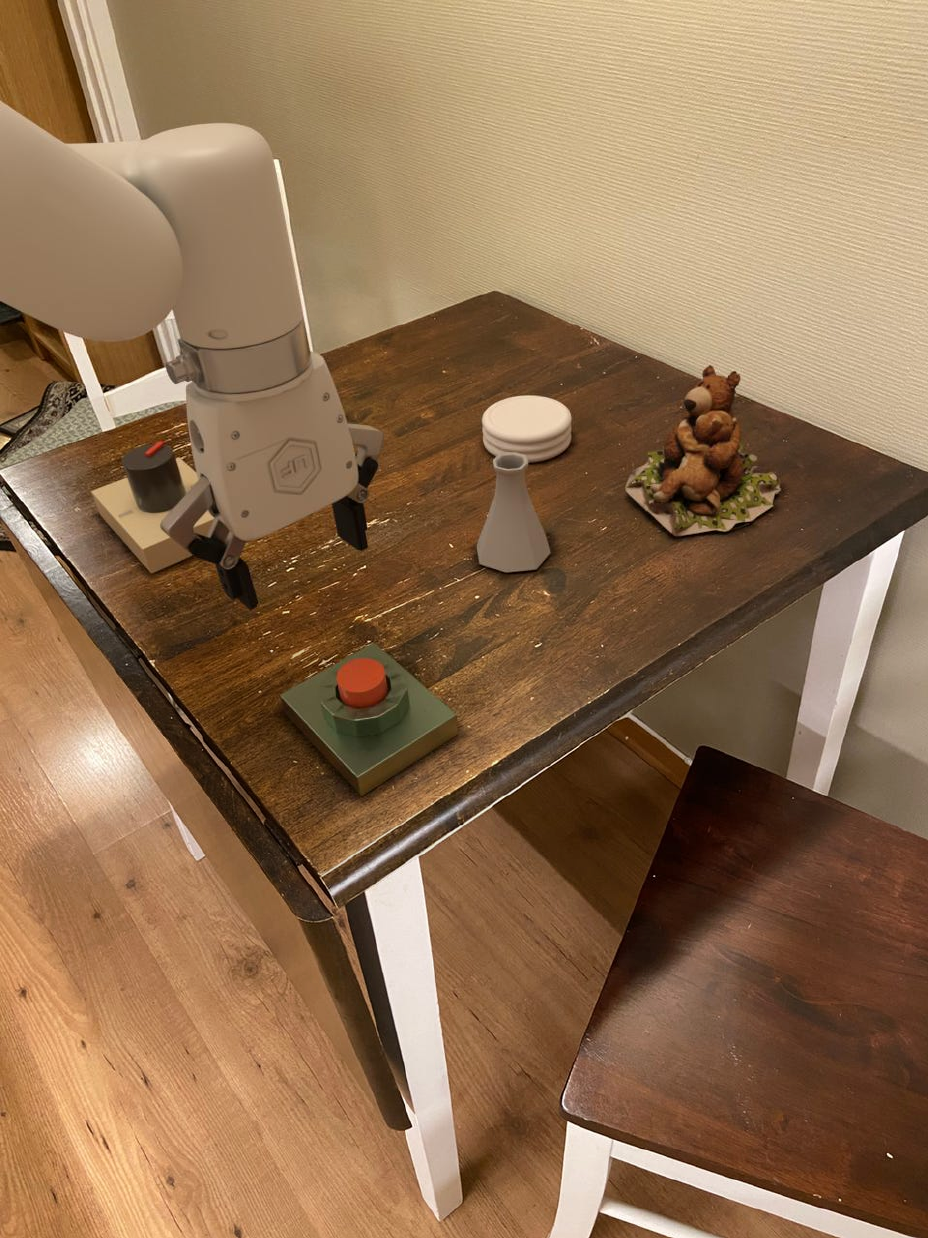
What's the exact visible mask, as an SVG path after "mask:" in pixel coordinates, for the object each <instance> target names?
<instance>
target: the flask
mask: <svg viewBox="0 0 928 1238" xmlns="http://www.w3.org/2000/svg"><path fill="white" fill-rule="evenodd" d="M492 464H493V470H494V473H496V482H495V489H494V496H493V498H492V501H491V505H490V508H489V511H488V514H487V517H486V520H485V522H484V524H483V527H482V530H481V532H480V535H479V538H478V541H477V543H476V551H477V559H478V564H479V565H481V566H484V567H487V568H491V569H494V570H497V571H500V572H503V573H513V572H515V573H516V572H524V571H525V572H526V571H534V570H538V568H539V567H540V566H541V565H542V564H543V563H544V561H545V560H546V559H547V558H548V557H549V555H551V548H550V545H549V541H548V538H547V534H546V532H545V530H544V528H543V527H544V526H543V525H542V523H541V521H540V518H539V516H538V514H537V512H536V510H535V507H534V505H533V502H532V500H531V498H530V495H529V491H528V487H527V483H526V470H527V469H528V467H529V463H528V460H527V457H526V455H523V454H519V453H515V452H510V453H500V454H499V455H498V456H497V457H496V456H495V458H493V459H492Z"/></svg>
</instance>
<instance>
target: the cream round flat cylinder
mask: <svg viewBox="0 0 928 1238" xmlns="http://www.w3.org/2000/svg"><path fill="white" fill-rule="evenodd" d="M572 421H573V418H572V414H571V412H570V409H569V408H568V407H567V406H566V405H564V404H563V403H562V402H560V401H558V400H556V399H554V398H550V397H546V396H541V395H517V396H512V397H511V396H510V397H507V398H504V399H501V400H499V401H497V402H495V403H493V404H491V405H490V406H489V407H488V408H487V409H485V411H484V413H483V414H482V418H481V424H482V429H481V430H482V443H483V445H484V448H485V449H486V451H488V453H490V454H492V455H493V456H494V457H495V458H496V457H497V456H498V455H499V454H500V453H510V452H515V453H519V454H523V455H526V457H527V460H528V464H529V463H539V462H544V461H546V460H550V459H553V458H555V457H556V456H557V457H558V456H559V455H560V454H561V453H563V452H564V451H566V450H567V449H568V448H569V446H570V444H571V441H572V433H571V432H572Z"/></svg>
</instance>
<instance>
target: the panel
mask: <svg viewBox="0 0 928 1238" xmlns="http://www.w3.org/2000/svg"><path fill="white" fill-rule="evenodd" d="M175 458H176V462H177V465H178V468H179V471H180V474H181V477H182V481H183V484H184V487H185V490H186V494H187V492H188V491H189V490H190V489H191V488H192V487H193V486H194V485H195V484H196V483H197V481H198V476H197V472H196V470H194V469H193V468H192V467H190V466H189V464H187V463H186V462H185V461H184V460H183V459H182V458H181V457H175ZM90 494H91V495H92V498H93V501H94V503H95V505H96V509H97V511H98V513H99V515H100V517H101V518H102V519H103V520H104V521H105V522H106V523H107V524H108V526H109V527H110V528H111V530H113V531H114V532H115V533H116V535H117V536H118V537H119V538H120V539H121V541H122V542H123V543H124V544H125V545H126V547H128V549H129V550H130V551H131V552H132V553H133V554H134V556H135V557H136V558H137V559H138V560H139V561H140V562H141V564H142V565H143V566H144V567H145V568H146V569H147V571H148V572H149V573H150V574H154V573H156V572H157V573H158V571H161V570H164V569H166V568H168V567H170V566H173V565H174V564H177V563H179V562H182V561H184V560H186V559H188V558H191V557H192V556H193V555H192V554H191V553H190V552H188V551H187V550H186V549H184V548H183V547H182V546H181V545H179V544H178V543H177V542H175V541H174V540H173V539H172V538H170V537H169V536H168V535H167V534H166V533H165V532H164V531H163V530H162V529H161V527H160V524H161V522H162V520H163V519H164V518H165V517H166V516H167V515H168V513H169V512H170V511H171V510H172V509H173V508H172V509H170V510H167V511H163V512H156V513H151V512H145V511H142V510H140V509H139V508H138V507H137V504H136V501H135V499H134V496H133V493H132V490H131V488H130V485H129V482H128V479H127V477H123V478H122V479H119V480H117V481H113V482H111V483H109V484H106V485H103V486H101V487H98V488H96V489H94V490H91V491H90ZM213 519H214V517H213V516H211V514H210V513H209V511H208V510H207V511H206V512H205V514H204V515H203V516H202V517H201V518H200V519H199V520H198V521H197V522H196V524H195V525H194V527H193V531H194V532H195V533H197V534H200V535H203V536H207V534H208V531H209V529H210V527H211V524H212V522H213ZM229 532H230V531H229ZM228 534H229V533H228ZM227 536H228V535H227ZM226 539H227V538H226ZM225 541H226V540H225ZM193 557H194V556H193Z"/></svg>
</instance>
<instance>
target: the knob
mask: <svg viewBox="0 0 928 1238" xmlns="http://www.w3.org/2000/svg"><path fill="white" fill-rule="evenodd" d="M176 458H177V457H176V455H175V452H174V450H173V448H172V447H171V446H169V445H166V444H165V442H164V441H158V442H156V443H152V444H151V443H150V444H144V445H141V446H138V447H135V448H133V449H131V450H130V451H128V452H127V453H126V454H124V456H123V457H122V459H121V465H122V468H123V471H124V473H125V476H126V477H125V478H127V479H128V482H129V485H130V488H131V490H132V493H133V496H134V499H135V501H136V504H137V507H138V508H139V509H140V510H142V511H145V512H151V513H156V512H163V511H167V510H170V509H172V508H174V507H175V506H176V505H177V503H178V502H179V501H180V500H181V499H182V498H183V497H184V496H185V495H186V490H185V487H184V484H183V481H182V477H181V474H180V471H179V468H178V465H177V462H176Z"/></svg>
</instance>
